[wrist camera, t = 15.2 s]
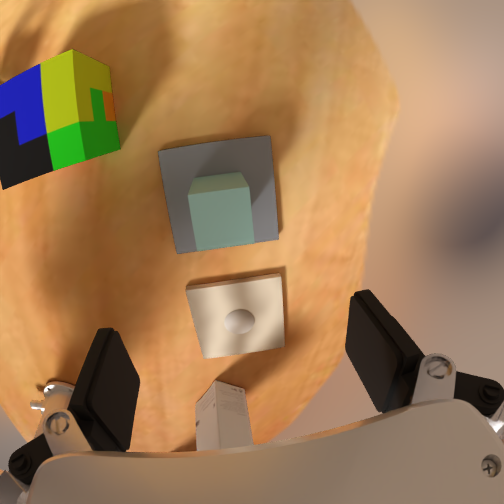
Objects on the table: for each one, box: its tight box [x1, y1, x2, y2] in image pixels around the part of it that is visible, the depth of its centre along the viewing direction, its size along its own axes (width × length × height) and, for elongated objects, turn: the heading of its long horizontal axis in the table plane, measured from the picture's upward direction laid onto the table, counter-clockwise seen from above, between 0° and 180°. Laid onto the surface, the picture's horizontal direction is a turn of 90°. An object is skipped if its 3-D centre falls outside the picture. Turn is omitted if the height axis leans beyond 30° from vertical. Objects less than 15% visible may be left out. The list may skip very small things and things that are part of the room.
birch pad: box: [186, 273, 285, 359], centre depth 40 cm, size 12×12×1 cm
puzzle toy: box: [0, 49, 121, 190], centre depth 22 cm, size 10×10×10 cm
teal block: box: [188, 172, 255, 251], centre depth 28 cm, size 5×5×8 cm
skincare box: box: [195, 380, 253, 451], centre depth 40 cm, size 8×6×15 cm
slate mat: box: [158, 136, 279, 254], centre depth 32 cm, size 12×12×1 cm
